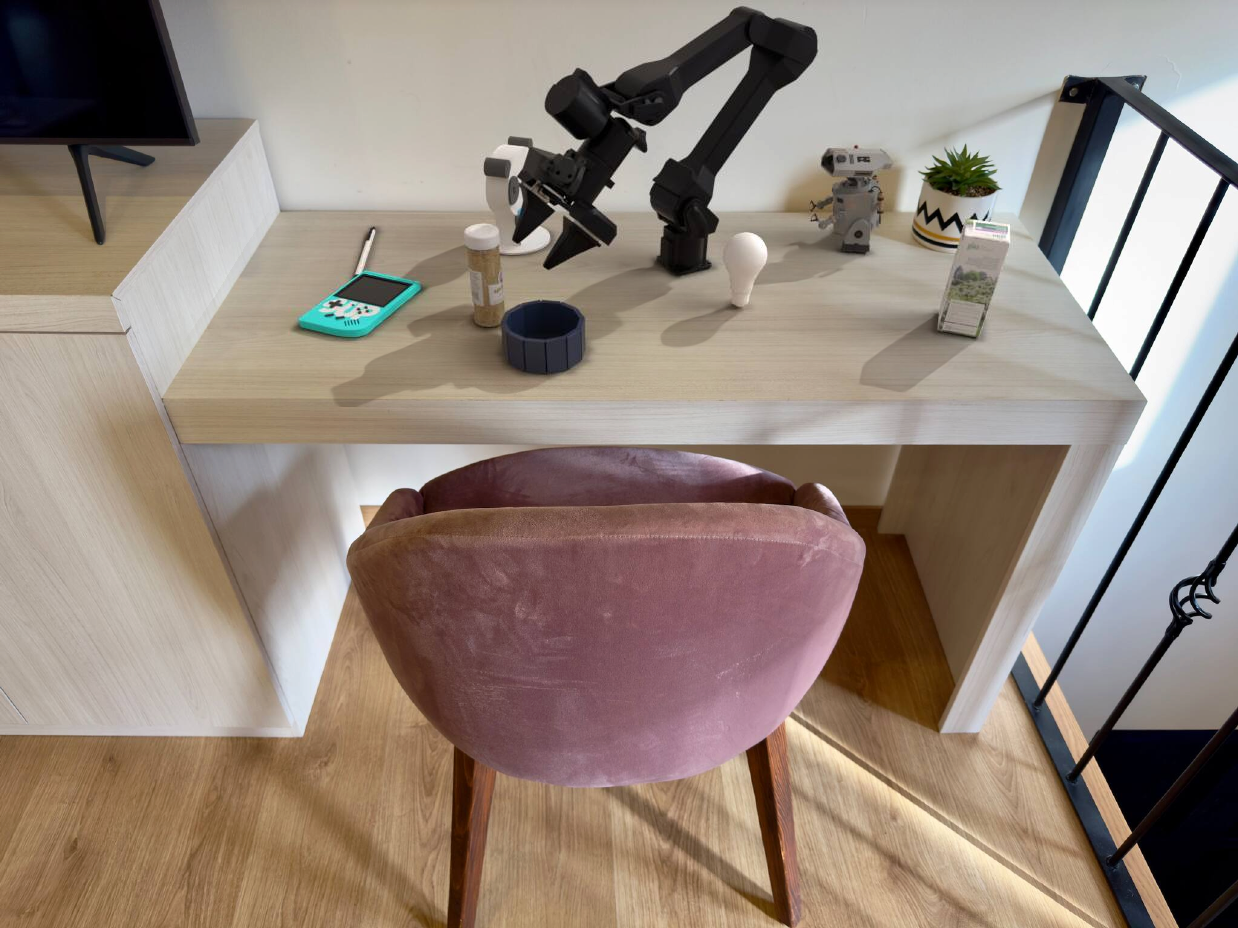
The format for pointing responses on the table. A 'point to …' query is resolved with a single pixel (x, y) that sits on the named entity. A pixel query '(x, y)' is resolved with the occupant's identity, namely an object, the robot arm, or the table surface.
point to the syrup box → (973, 277)
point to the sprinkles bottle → (485, 273)
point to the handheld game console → (360, 305)
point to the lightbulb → (743, 264)
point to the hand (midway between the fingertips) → (529, 255)
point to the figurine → (854, 194)
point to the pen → (365, 251)
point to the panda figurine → (510, 196)
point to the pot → (543, 336)
